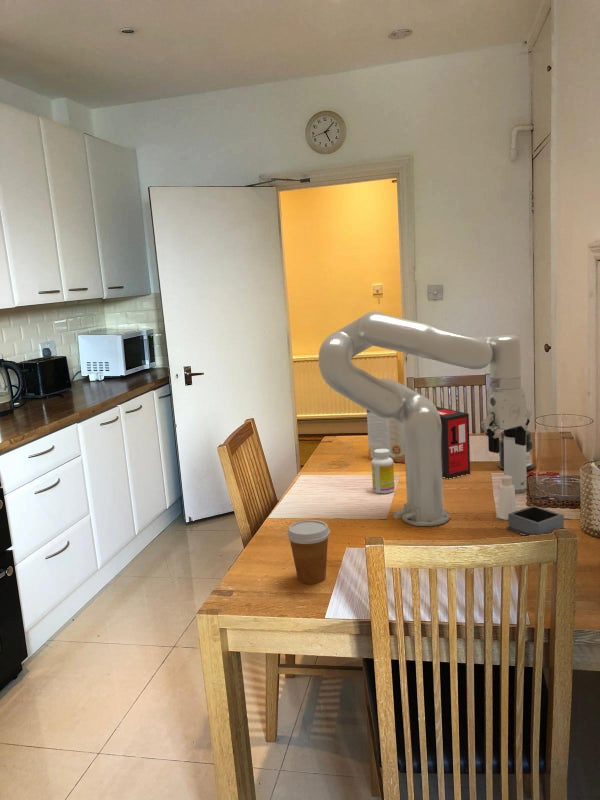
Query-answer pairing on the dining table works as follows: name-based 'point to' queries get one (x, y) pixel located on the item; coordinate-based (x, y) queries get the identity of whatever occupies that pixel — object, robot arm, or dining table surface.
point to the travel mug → (515, 461)
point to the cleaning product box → (454, 443)
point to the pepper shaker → (506, 498)
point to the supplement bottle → (382, 472)
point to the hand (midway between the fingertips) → (507, 448)
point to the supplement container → (528, 451)
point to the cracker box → (386, 436)
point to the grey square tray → (535, 521)
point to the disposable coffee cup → (309, 549)
